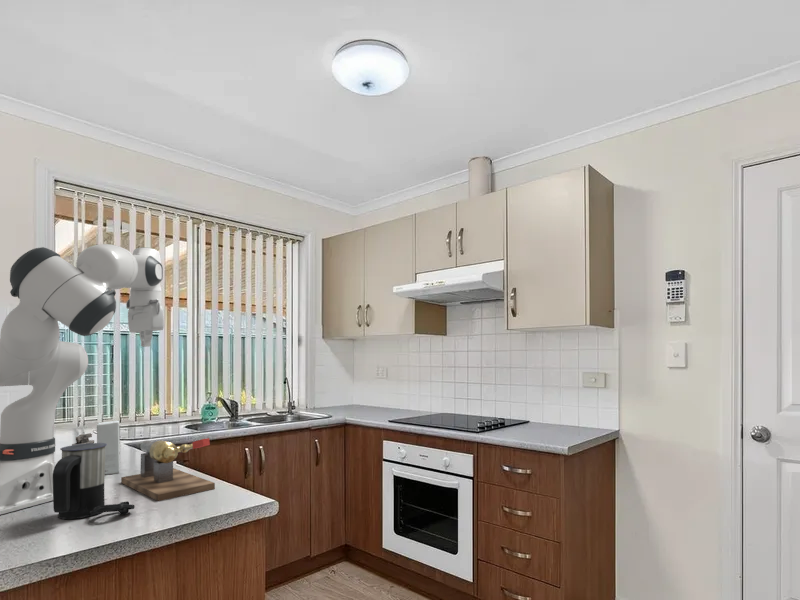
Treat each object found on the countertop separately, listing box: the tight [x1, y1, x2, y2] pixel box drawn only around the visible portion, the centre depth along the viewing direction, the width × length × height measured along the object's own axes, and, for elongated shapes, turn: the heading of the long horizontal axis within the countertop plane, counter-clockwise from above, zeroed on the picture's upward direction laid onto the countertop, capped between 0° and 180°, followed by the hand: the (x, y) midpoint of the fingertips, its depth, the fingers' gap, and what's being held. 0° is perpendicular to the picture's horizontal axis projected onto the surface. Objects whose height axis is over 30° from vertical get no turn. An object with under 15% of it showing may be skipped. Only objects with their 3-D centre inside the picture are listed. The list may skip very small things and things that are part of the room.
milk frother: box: [52, 442, 135, 520], centre depth 119 cm, size 14×16×15 cm
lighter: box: [71, 432, 95, 446], centre depth 170 cm, size 8×3×10 cm, turn 171°
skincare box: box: [96, 420, 121, 475], centre depth 161 cm, size 8×6×15 cm
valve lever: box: [180, 437, 211, 454], centre depth 141 cm, size 2×2×15 cm
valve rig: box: [120, 440, 216, 502], centre depth 142 cm, size 27×14×12 cm, turn 44°
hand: (145, 346), depth 163 cm, fingers closed
